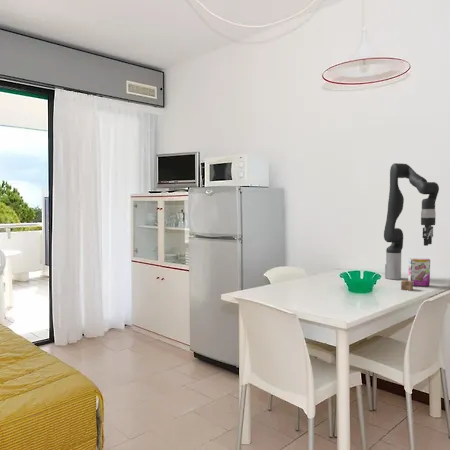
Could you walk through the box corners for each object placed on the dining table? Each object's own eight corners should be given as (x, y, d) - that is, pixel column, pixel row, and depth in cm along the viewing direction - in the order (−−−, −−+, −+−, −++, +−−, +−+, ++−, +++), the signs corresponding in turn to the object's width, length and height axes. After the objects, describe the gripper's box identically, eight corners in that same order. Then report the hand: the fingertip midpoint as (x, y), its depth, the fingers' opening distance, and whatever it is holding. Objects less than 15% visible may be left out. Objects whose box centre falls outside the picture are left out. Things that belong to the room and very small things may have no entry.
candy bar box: (410, 286, 251) (411, 259, 250) (407, 284, 256) (408, 258, 255) (430, 286, 250) (430, 259, 249) (427, 284, 255) (427, 258, 254)
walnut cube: (401, 289, 241) (401, 281, 241) (403, 288, 245) (404, 280, 245) (410, 291, 238) (410, 282, 238) (412, 289, 242) (413, 280, 242)
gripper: (424, 216, 249) (423, 243, 250) (418, 217, 238) (417, 245, 239) (438, 216, 245) (437, 244, 246) (432, 217, 234) (431, 246, 234)
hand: (427, 244), depth 242 cm, fingers open, 8 cm apart
